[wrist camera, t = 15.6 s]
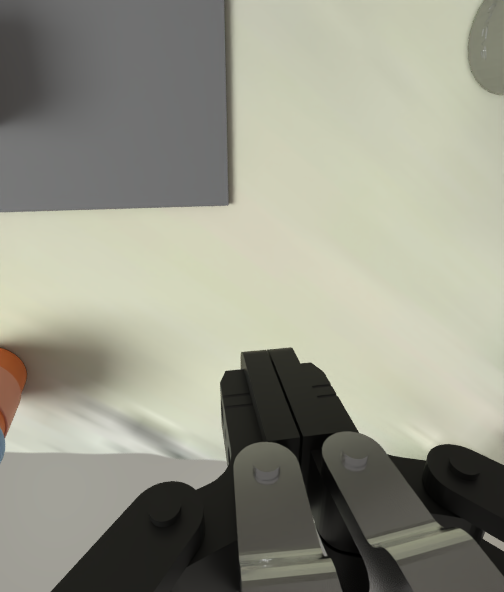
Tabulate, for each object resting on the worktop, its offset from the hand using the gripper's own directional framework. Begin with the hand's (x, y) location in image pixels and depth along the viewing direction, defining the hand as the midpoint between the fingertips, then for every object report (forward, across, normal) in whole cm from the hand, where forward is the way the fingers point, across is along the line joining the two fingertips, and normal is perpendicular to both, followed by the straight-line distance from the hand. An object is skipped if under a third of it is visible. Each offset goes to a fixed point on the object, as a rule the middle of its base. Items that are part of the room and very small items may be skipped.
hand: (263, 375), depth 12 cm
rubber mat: (+27, +12, -10) cm, 31 cm away
